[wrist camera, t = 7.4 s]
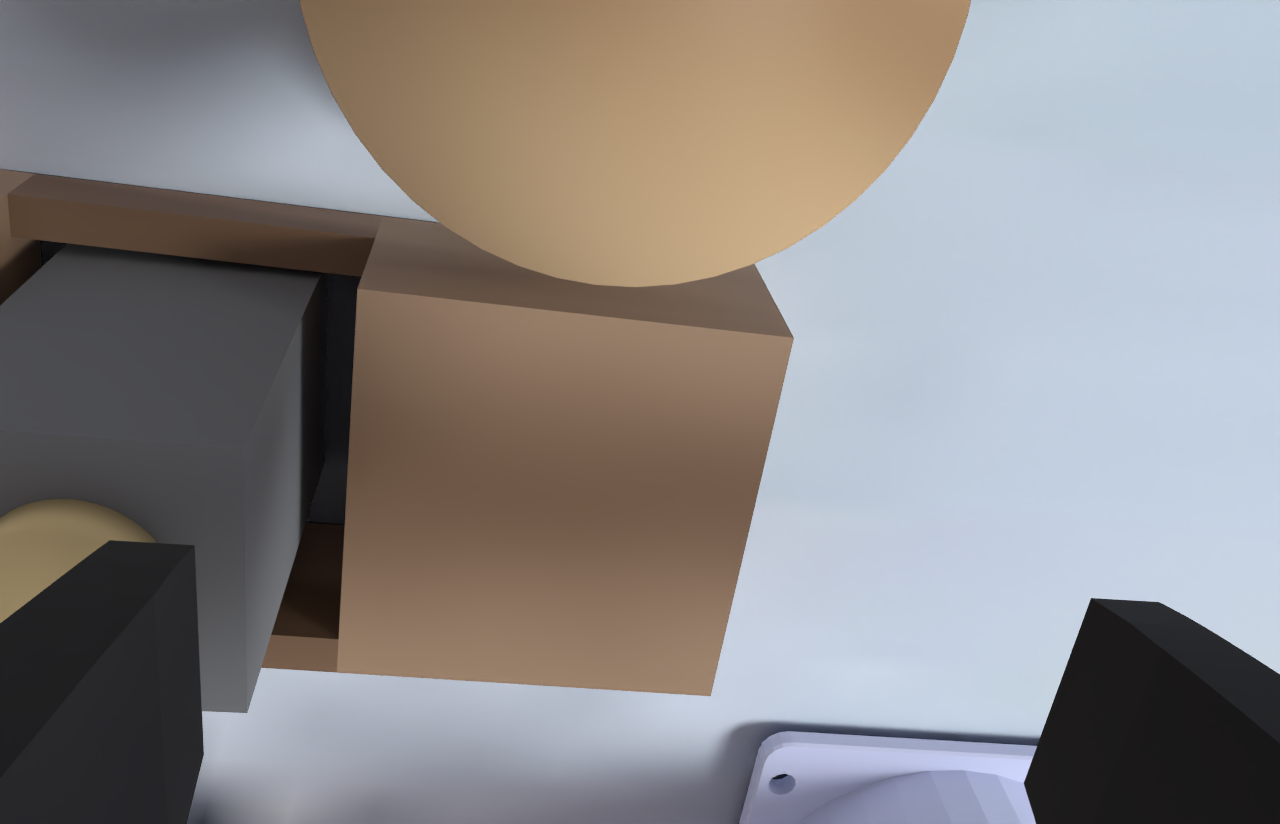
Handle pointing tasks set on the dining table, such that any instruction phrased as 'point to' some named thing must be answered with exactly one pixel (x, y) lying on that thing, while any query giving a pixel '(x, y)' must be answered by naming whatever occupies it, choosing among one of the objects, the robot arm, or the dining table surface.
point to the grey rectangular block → (165, 432)
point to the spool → (634, 119)
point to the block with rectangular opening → (492, 443)
